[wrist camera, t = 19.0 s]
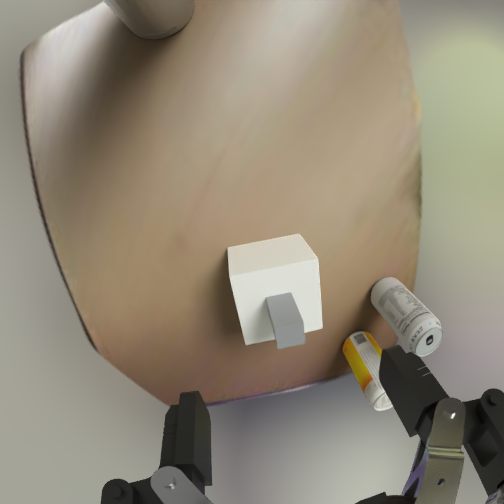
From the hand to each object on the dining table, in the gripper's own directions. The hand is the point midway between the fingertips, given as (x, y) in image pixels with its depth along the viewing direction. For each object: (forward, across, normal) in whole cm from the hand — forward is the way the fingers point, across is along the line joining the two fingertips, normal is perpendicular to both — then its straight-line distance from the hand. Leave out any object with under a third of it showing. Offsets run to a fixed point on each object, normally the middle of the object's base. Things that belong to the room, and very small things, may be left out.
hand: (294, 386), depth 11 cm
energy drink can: (+30, -21, +18) cm, 41 cm away
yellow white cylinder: (+30, -16, +28) cm, 44 cm away
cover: (+30, -2, +10) cm, 32 cm away
